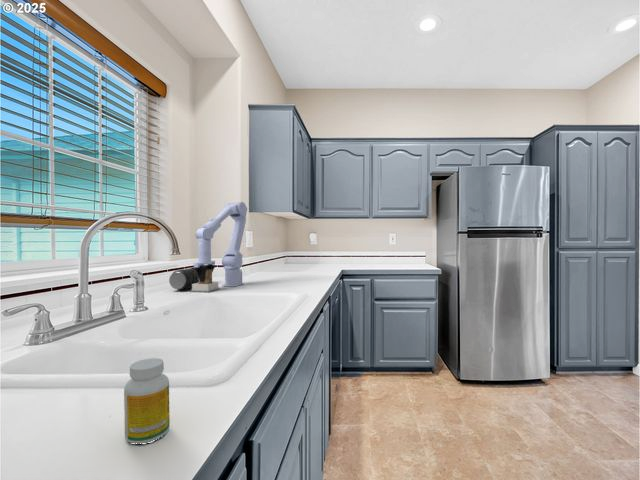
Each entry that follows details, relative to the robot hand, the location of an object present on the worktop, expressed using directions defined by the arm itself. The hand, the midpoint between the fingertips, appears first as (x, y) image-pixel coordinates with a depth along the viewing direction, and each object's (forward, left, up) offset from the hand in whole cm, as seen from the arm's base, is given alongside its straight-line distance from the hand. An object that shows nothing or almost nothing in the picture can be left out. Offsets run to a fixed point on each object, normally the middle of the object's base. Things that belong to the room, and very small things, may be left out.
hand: (205, 281), depth 163 cm
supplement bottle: (+106, +61, -5) cm, 122 cm away
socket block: (0, 0, -4) cm, 4 cm away
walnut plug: (0, 0, -2) cm, 3 cm away
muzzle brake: (-7, -13, -5) cm, 15 cm away
